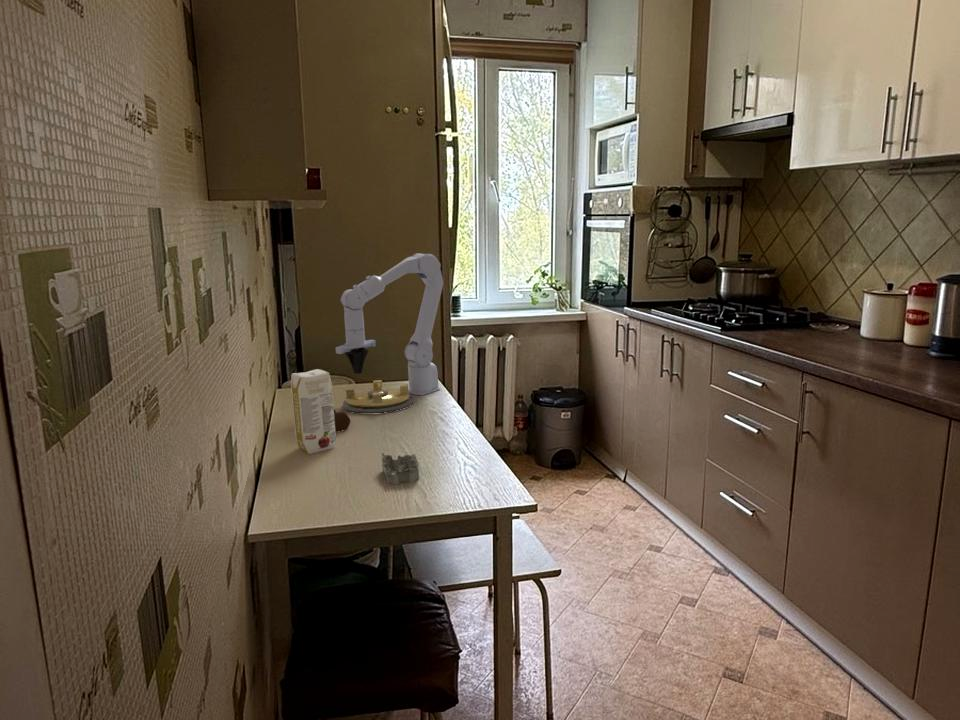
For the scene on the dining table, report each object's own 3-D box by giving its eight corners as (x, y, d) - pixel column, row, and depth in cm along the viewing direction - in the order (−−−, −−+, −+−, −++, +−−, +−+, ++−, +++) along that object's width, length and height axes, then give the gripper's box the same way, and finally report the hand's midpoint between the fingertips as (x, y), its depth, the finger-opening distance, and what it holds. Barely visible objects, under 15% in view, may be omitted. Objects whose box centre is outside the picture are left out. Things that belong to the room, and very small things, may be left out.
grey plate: (378, 392, 216) (378, 388, 216) (427, 400, 204) (427, 396, 203) (328, 408, 200) (328, 403, 199) (378, 418, 187) (377, 413, 187)
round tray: (378, 389, 214) (377, 377, 214) (422, 396, 203) (422, 384, 202) (332, 402, 200) (331, 390, 199) (377, 411, 188) (377, 398, 188)
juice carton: (339, 447, 163) (333, 372, 159) (307, 456, 158) (300, 378, 154) (325, 440, 169) (319, 367, 165) (293, 448, 164) (286, 373, 160)
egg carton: (381, 469, 149) (380, 452, 148) (415, 465, 150) (414, 448, 149) (385, 487, 138) (383, 468, 137) (421, 482, 140) (420, 464, 139)
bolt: (326, 424, 190) (344, 435, 177) (310, 418, 187) (327, 429, 175) (335, 405, 191) (353, 415, 178) (319, 399, 188) (336, 409, 175)
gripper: (363, 325, 210) (366, 367, 213) (327, 331, 199) (330, 376, 201) (379, 326, 206) (381, 369, 209) (343, 333, 194) (346, 378, 197)
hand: (357, 373), depth 205 cm, fingers closed
